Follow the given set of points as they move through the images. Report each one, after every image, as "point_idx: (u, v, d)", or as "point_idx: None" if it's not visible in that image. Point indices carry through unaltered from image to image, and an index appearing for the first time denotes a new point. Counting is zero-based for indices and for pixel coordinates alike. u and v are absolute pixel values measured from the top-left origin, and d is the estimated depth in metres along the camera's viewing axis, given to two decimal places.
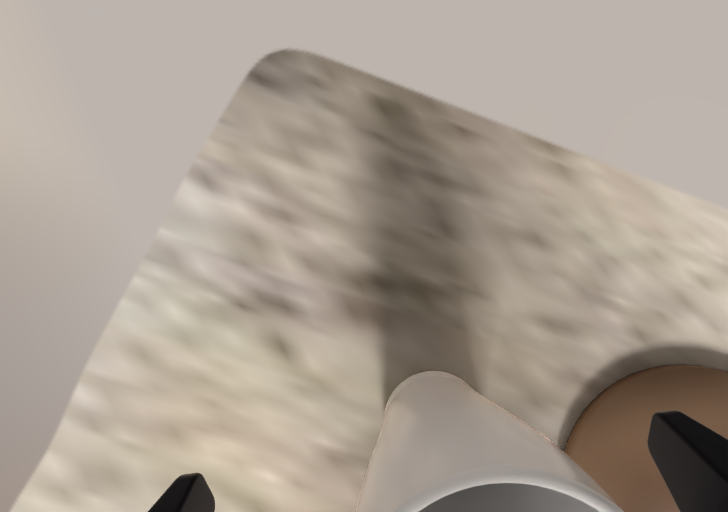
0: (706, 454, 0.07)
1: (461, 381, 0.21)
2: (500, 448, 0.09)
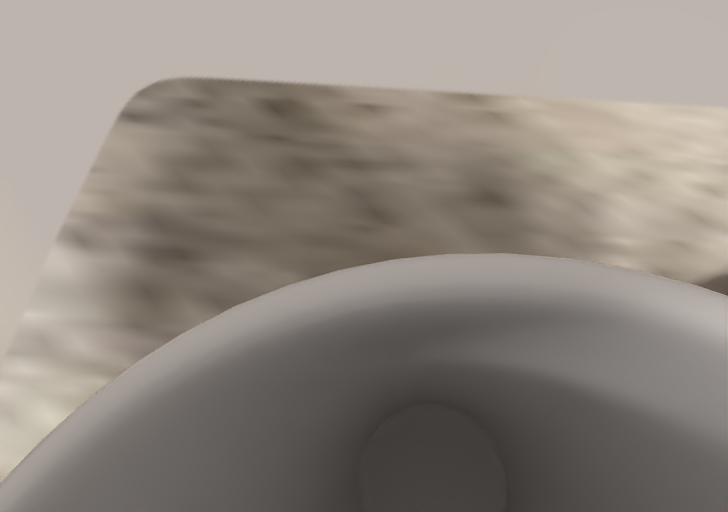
0: None
1: None
2: None
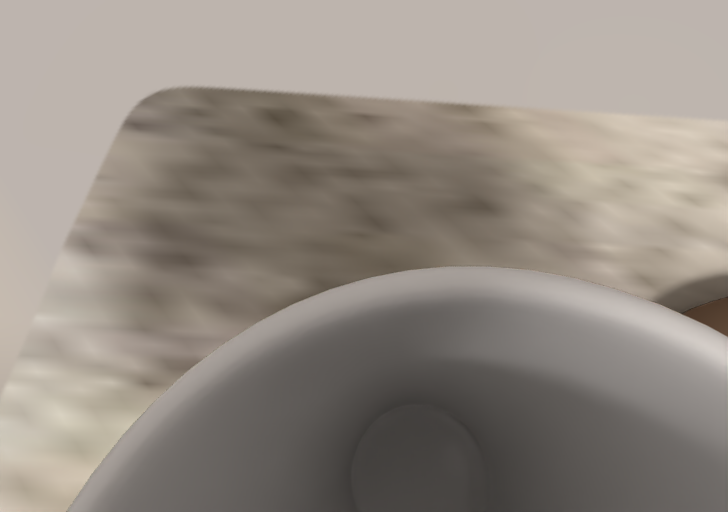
0: None
1: None
2: None
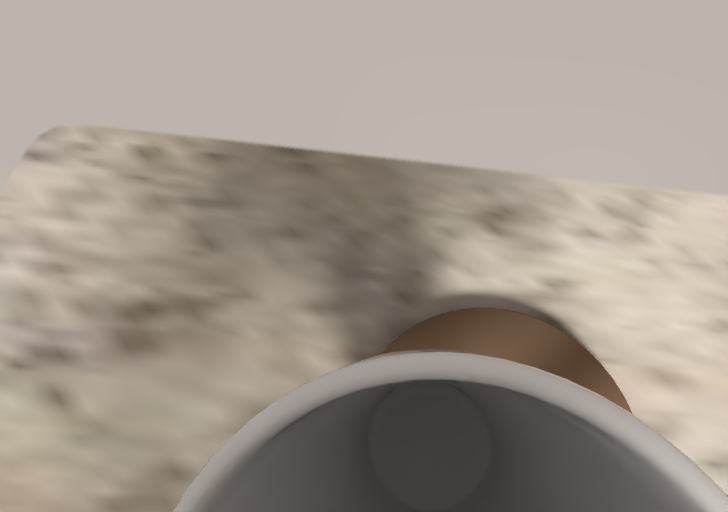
0: None
1: None
2: None
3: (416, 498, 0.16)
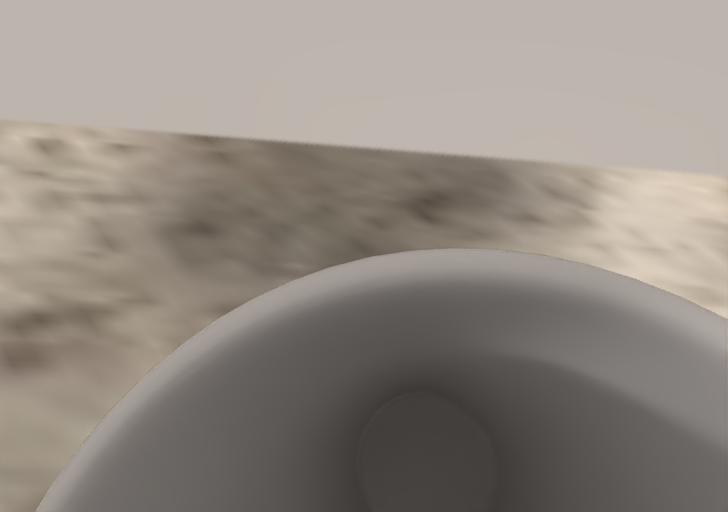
0: None
1: None
2: None
3: None
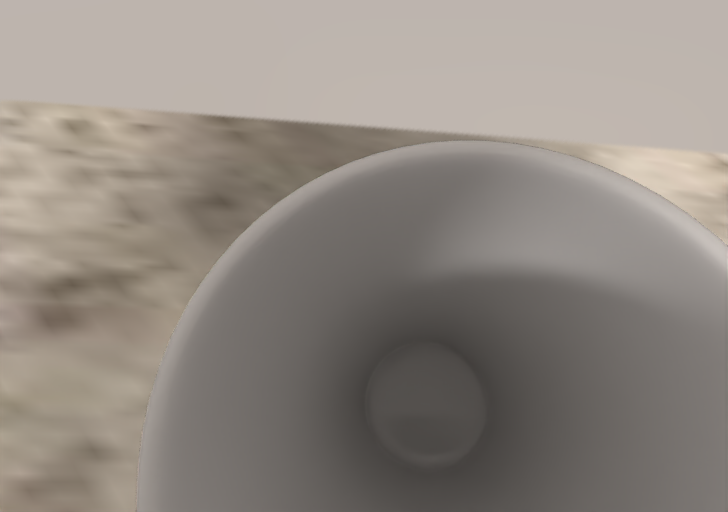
0: None
1: None
2: None
3: (412, 458, 0.16)
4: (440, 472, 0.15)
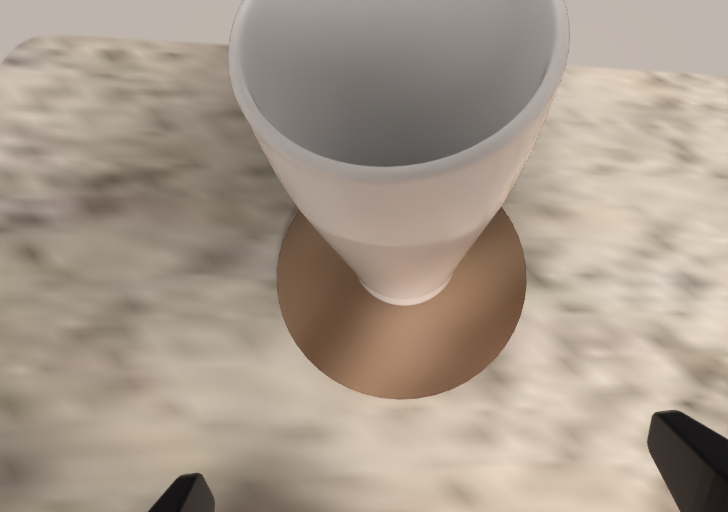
0: (706, 454, 0.07)
1: None
2: None
3: None
4: None
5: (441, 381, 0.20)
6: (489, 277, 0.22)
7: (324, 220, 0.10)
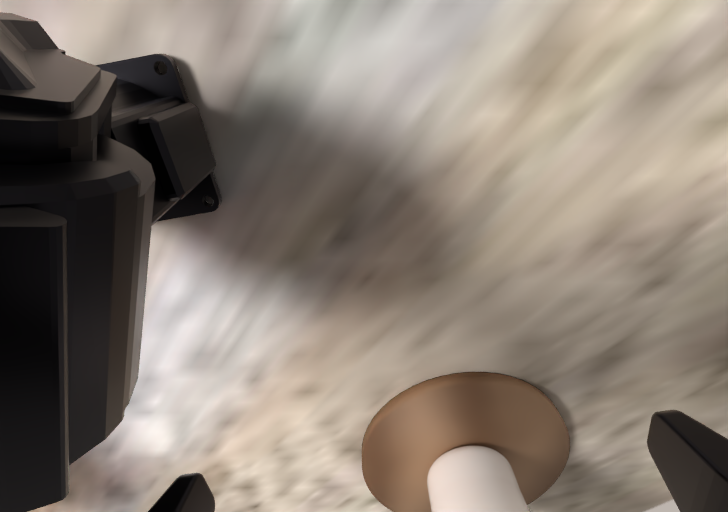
0: (706, 454, 0.07)
1: None
2: None
3: None
4: None
5: (378, 438, 0.25)
6: (406, 494, 0.28)
7: None
